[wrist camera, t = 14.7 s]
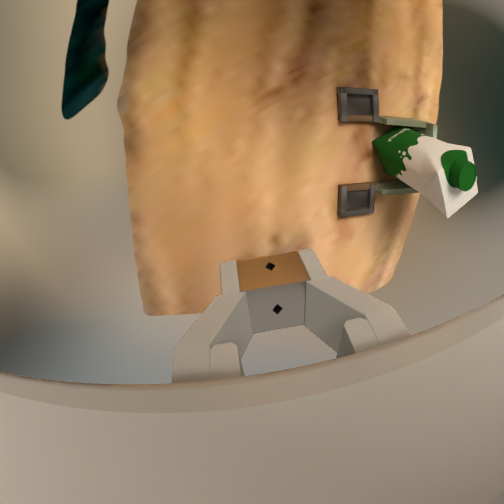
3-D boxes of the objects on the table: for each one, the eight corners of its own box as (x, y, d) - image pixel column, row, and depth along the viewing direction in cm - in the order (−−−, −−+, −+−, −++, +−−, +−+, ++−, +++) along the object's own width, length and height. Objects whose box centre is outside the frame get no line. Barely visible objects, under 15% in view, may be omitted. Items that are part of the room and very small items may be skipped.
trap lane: (336, 86, 36) (353, 87, 31) (416, 95, 37) (437, 99, 32) (337, 213, 49) (350, 229, 44) (409, 205, 49) (425, 218, 44)
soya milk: (400, 117, 39) (483, 146, 22) (415, 158, 44) (490, 200, 27) (365, 139, 41) (444, 177, 24) (383, 180, 46) (454, 232, 29)
